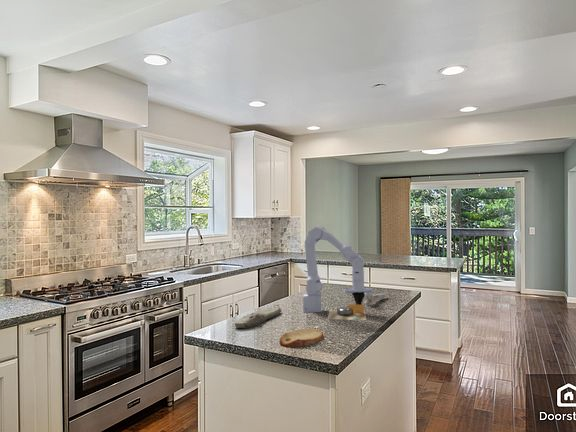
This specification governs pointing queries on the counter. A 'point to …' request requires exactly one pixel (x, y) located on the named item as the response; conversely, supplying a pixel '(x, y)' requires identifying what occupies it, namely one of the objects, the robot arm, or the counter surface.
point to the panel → (334, 315)
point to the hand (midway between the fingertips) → (358, 307)
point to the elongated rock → (257, 318)
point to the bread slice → (301, 338)
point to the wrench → (373, 298)
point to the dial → (351, 309)
